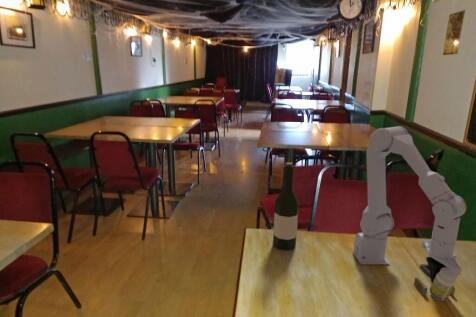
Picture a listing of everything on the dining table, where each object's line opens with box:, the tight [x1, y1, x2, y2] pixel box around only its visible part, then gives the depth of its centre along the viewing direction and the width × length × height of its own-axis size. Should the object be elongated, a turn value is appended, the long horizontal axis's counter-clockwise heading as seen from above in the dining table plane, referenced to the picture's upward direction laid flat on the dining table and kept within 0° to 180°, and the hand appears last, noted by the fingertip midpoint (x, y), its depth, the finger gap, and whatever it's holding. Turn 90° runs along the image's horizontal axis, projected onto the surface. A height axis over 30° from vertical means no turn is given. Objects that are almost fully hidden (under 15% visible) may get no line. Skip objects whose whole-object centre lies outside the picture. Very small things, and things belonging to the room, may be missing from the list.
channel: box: [413, 277, 456, 297], centre depth 97 cm, size 9×5×2 cm, turn 92°
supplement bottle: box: [429, 267, 458, 302], centre depth 93 cm, size 5×5×8 cm
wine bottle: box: [272, 162, 300, 252], centre depth 118 cm, size 8×8×30 cm
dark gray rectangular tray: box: [419, 263, 431, 280], centre depth 106 cm, size 6×6×1 cm
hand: (435, 282), depth 96 cm, fingers closed, pressing on supplement bottle
